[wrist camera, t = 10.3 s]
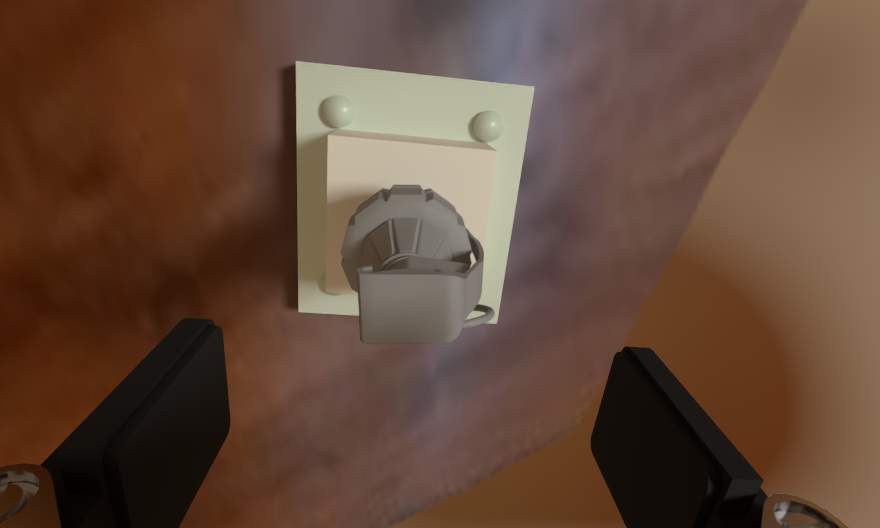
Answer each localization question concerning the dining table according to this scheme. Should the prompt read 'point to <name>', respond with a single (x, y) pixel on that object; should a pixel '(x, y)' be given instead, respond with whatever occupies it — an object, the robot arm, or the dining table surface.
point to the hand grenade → (413, 268)
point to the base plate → (405, 113)
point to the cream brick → (402, 182)
